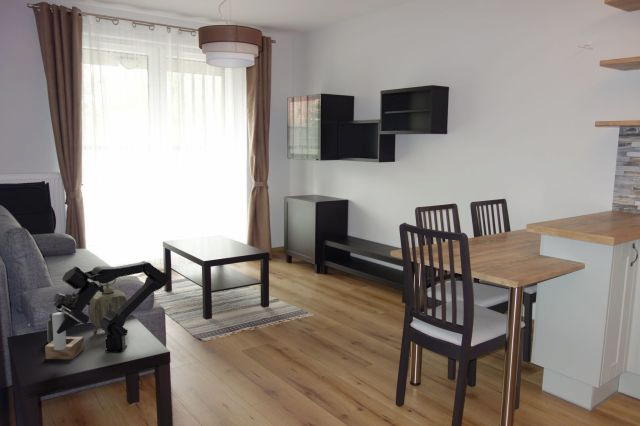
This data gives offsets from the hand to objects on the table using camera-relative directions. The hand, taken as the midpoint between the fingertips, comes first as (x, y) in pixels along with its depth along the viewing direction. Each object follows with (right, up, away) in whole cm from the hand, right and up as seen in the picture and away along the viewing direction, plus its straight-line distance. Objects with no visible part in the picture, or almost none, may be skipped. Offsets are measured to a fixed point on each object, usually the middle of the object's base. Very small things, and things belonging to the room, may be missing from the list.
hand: (55, 331), depth 187 cm
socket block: (-3, -12, +14) cm, 18 cm away
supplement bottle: (-13, -10, +27) cm, 31 cm away
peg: (+1, -6, +2) cm, 7 cm away
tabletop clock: (+5, -9, +36) cm, 38 cm away
